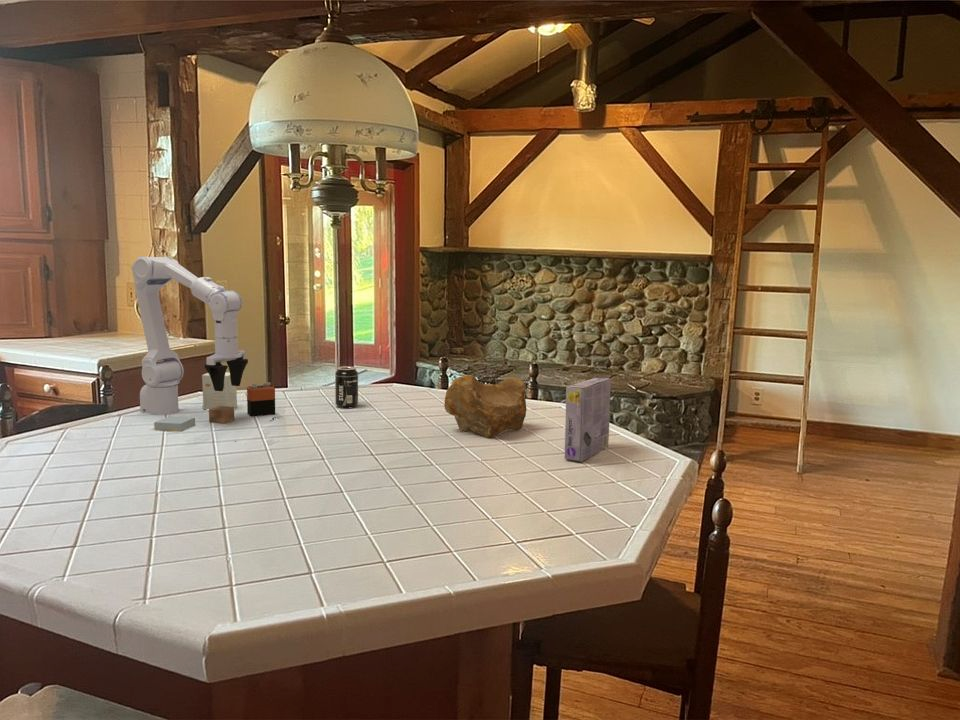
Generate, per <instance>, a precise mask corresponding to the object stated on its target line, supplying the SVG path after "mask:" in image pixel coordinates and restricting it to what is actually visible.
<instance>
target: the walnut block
mask: <svg viewBox="0 0 960 720" xmlns="http://www.w3.org/2000/svg"><path fill="white" fill-rule="evenodd" d="M233 421H235V408H234V407H228V406H217V407H214V408H211V409H209V410H208V422H209V423H212V424H219V425H220V424H222V425H225V424H227V423H230V422H233Z"/></svg>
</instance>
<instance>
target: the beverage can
mask: <svg viewBox="0 0 960 720" xmlns="http://www.w3.org/2000/svg"><path fill="white" fill-rule="evenodd" d="M334 376H335V377H334V378H335V380H334V381H335V385H334V386H335V387H334V388H335V389H334V390H335V391H334V393H335V394H334V399H335V400H334V401H335V405H336V407H338V408H340V407H343V408H342V409H350V408H349V407H353V408H355V407H356V406H358V404H359V372H358V371H357V367H356V366H351V365H350V366H349V365H347V366H346V365H343V366H338V367H337V370H336V371H335V374H334ZM354 406H355V407H354Z"/></svg>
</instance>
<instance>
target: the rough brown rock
mask: <svg viewBox="0 0 960 720" xmlns="http://www.w3.org/2000/svg"><path fill="white" fill-rule="evenodd" d="M444 409H445V410H444V411H445V412H446V413H448V414H449V415H451V416H454V419H455V421H456V423H457V426H458V428H459V430H461V431H462V432H469V431H472V433H478V434H480V435H481V436H483V437H484V438H486V439H490V438H492V437H496V436H499V435H500V434H503V433H504V432H507V431H510V430H512V431H519V430H521V428H523V425H524V421H525V419H526V416H527V402H526V384H525V382H524V380H523V379H521V378H520V377H517V376H508V377H506V378H505V379H504V380H502V381H500V382H499V383H496V384H492V383H483V382H480V381H479V380H478V379H477V378H476V376H475V375H473V374H465V375H463V376H461V377H458V378H456V379H455V380H453V381H452V383H451V384H450V385H449V386H448V388H447V389H446V391H445V396H444Z"/></svg>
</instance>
